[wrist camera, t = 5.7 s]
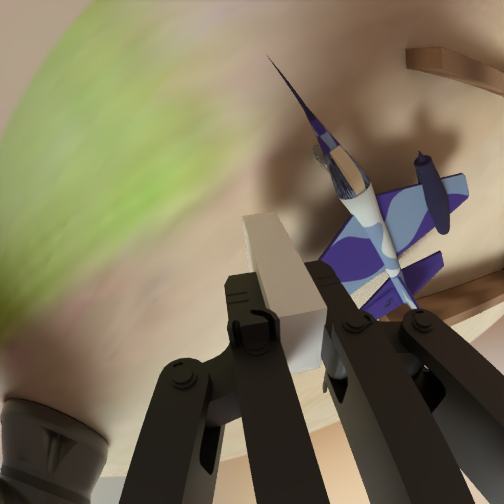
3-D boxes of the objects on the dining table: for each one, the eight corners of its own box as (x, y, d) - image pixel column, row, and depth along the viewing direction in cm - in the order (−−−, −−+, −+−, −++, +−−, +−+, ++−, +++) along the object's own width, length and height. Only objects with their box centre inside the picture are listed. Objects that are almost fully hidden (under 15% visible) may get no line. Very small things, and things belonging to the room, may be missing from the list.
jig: (378, 320, 21) (395, 346, 19) (405, 49, 11) (441, 47, 9) (504, 276, 23) (520, 291, 20) (539, 100, 13) (562, 108, 10)
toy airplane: (253, 60, 11) (270, 48, 8) (458, 140, 14) (497, 156, 11) (208, 295, 17) (211, 338, 14) (392, 302, 21) (415, 334, 18)
